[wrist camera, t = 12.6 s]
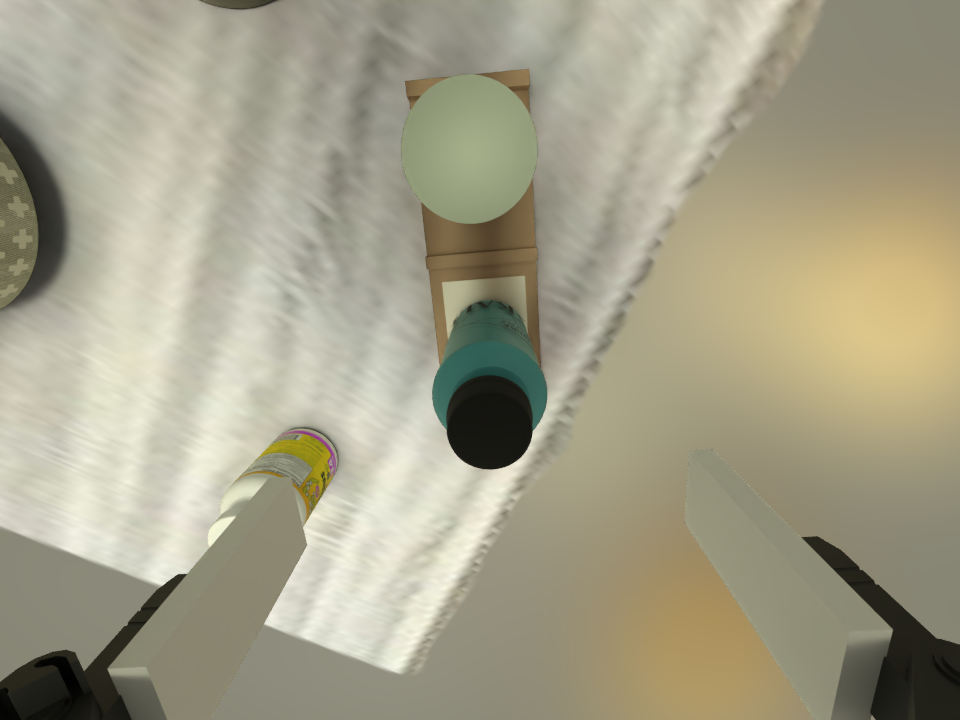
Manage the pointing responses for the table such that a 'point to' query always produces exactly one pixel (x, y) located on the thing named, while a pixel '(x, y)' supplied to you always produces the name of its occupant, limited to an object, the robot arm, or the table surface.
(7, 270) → the planter
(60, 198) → the table surface
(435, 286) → the wooden tray
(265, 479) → the supplement bottle
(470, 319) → the beverage bottle
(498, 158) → the sage canister
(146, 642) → the robot arm
